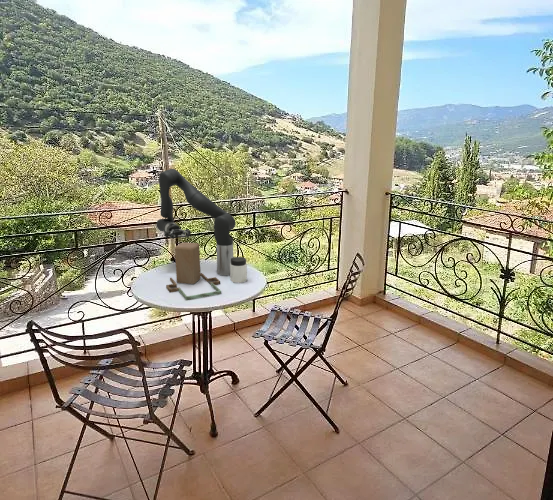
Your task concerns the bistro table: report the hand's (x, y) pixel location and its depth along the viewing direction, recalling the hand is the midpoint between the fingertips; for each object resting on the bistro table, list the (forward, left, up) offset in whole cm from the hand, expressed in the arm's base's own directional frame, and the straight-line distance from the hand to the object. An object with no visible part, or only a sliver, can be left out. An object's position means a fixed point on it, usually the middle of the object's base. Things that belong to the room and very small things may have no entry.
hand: (181, 236), depth 211 cm
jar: (-24, +22, -22) cm, 39 cm away
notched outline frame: (0, +21, -22) cm, 30 cm away
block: (0, +11, -22) cm, 25 cm away
